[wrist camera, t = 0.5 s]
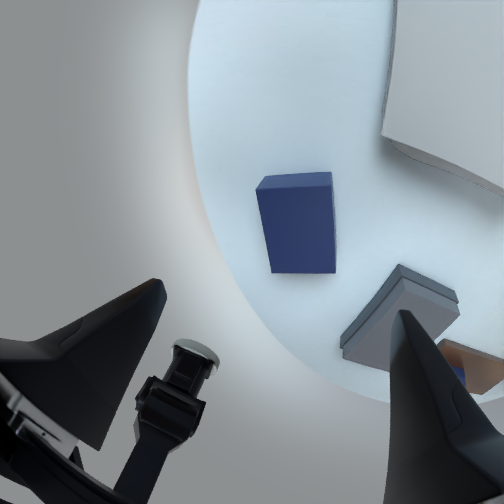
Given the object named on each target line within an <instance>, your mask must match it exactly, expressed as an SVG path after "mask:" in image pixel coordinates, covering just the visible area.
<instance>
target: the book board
mask: <svg viewBox="0 0 504 504" xmlns="http://www.w3.org/2000/svg"><path fill="white" fill-rule="evenodd" d="M437 347H438V348H439V350H440V351H441V352H442V354H443V355H444V357H445V358H446V359H447V361H448V362H449V364H450V365H451V366H454V367H457V368H461V369H464V372H465V377H466V378H465V382H466V387H465V388H466V389H467V391H468V392H469V393H474V394H480V395H483V394H484V393H485V392H487V391H488V390H490V389H491V388H492V387H494V386H495V385H496V384H498V383H499V382H500V381H502V380H503V379H504V360H503V359H500V358H497V357H494V356H492V355H489V354H486V353H483V352H480V351H478V350H475V349H472V348H469V347H466V346H464V345H461V344H458V343H455V342H453V341H450V340H447V339H443V340H442V341H441V342H440V343H439V344H438V345H437Z"/></svg>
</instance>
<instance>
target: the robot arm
mask: <svg viewBox="0 0 504 504" xmlns="http://www.w3.org/2000/svg"><path fill="white" fill-rule="evenodd" d="M166 300H167V294H166V290H165V287H164V284H163V282H162V280H160V279H155V278H152V279H150V280H148V281H146V282H144V283H143V284H141V285H139V286H137V287H135V288H133V289H132V290H130V291H128V292H126V293H124V294H122V295H121V296H119V297H117V298H115V299H113V300H112V301H110V302H108V303H106V304H104V305H103V306H101V307H99V308H97V309H95V310H94V311H92V312H90V313H88V314H87V315H85V316H84V317H81V318H79V319H78V320H76V321H74V322H72V323H71V324H69V325H67V326H65V327H63V328H61V329H59V330H57V331H54V332H52V333H50V334H48V335H46V336H44V337H42V338H40V339H38V340H35V341H31V342H25V341H24V342H23V341H16V340H9V339H3V338H0V475H2V476H4V477H5V478H7V479H10V480H12V481H13V482H16V483H18V484H20V485H22V486H25V487H27V488H29V489H30V490H31V491H33V493H35V494H36V496H38V497H39V499H41V500H42V501H43V502H44V503H45V504H147V502H148V500H149V498H150V495H151V493H152V491H153V488H154V486H155V483H156V481H157V479H158V476H159V474H160V471H161V469H162V467H163V464H164V462H165V460H166V457H167V455H168V454H169V453H171V452H173V451H174V450H176V449H178V448H179V447H180V446H181V445H182V444H183V443H184V442H185V441H186V440H187V439H188V438H189V437H192V436H193V435H194V433H195V431H196V429H197V427H198V425H199V422H200V419H201V416H202V413H203V411H204V408H205V405H206V402H205V401H201V400H199V399H197V395H198V393H199V391H200V389H201V386H202V384H203V382H204V379H208V378H209V376H210V373H211V370H212V368H213V365H214V362H213V361H212V360H210V359H207V358H205V357H203V356H200V355H198V354H196V353H193V352H191V351H189V350H187V349H185V348H182V347H180V346H178V345H175V346H174V347H173V361H172V363H171V365H170V366H169V369H168V370H167V372H166V374H165V376H164V377H163V379H162V380H160V379H159V378H157V377H156V376H153V377H148V378H147V380H146V382H145V384H144V385H143V387H142V388H141V390H140V391H139V393H138V394H137V396H136V397H135V400H136V408H135V410H137V411H138V415H137V417H136V420H135V422H134V432H135V438H136V445H135V447H134V449H133V451H132V453H131V455H130V457H129V459H128V461H127V463H126V465H125V467H124V469H123V471H122V473H121V475H120V477H119V479H118V481H117V483H116V485H115V487H114V489H113V490H112V489H111V488H109V487H107V486H106V485H104V484H102V483H101V482H99V481H98V480H96V479H95V478H93V477H92V476H90V475H89V474H88V473H86V472H85V471H84V468H83V465H82V461H81V457H80V453H79V449H78V447H77V446H76V444H77V442H78V441H79V439H80V440H81V441H83V442H84V443H86V444H87V445H89V446H91V447H92V448H94V449H95V450H97V451H100V449H101V446H102V444H103V442H104V439H105V437H106V435H107V432H108V430H109V427H110V425H111V423H112V420H113V418H114V416H115V414H116V411H117V409H118V407H119V405H120V402H121V400H122V398H123V396H124V393H125V391H126V389H127V387H128V385H129V382H130V380H131V378H132V376H133V374H134V372H135V370H136V368H137V366H138V364H139V362H140V360H141V358H142V355H143V353H144V351H145V349H146V347H147V345H148V343H149V341H150V339H151V337H152V335H153V333H154V331H155V329H156V326H157V323H158V321H159V318H160V316H161V313H162V311H163V308H164V305H165V303H166ZM390 406H391V407H390V408H391V410H390V412H391V414H390V416H391V417H390V445H389V459H388V472H387V479H386V487H385V494H384V501H383V504H504V435H502V434H501V433H500V432H498V431H497V430H496V429H495V427H494V426H493V425H492V423H491V422H490V421H489V419H488V418H487V417H486V415H485V414H484V413H483V411H482V410H481V409H480V407H479V406H478V405H477V403H476V402H475V400H474V399H473V398H472V396H471V395H470V394H469V392H468V391H467V389H466V388H465V386H464V385H463V383H462V382H461V380H460V379H459V378H458V376H457V374H456V373H455V371H454V370H453V368H452V367H451V365H450V364H449V362H448V361H447V359H446V358H445V357H444V355H443V354H442V352H441V351H440V350H439V348H438V347H437V345H436V344H435V343H434V341H433V340H432V339H431V337H430V336H429V334H428V333H427V332H426V330H425V329H424V328H423V327H422V325H421V324H420V323H419V321H418V320H417V319H416V317H415V316H414V315H413V314H412V312H411V311H410V310H408V309H399V310H398V311H397V313H396V316H395V318H394V321H393V323H392V326H391V345H390ZM0 504H12V503H10V502H7V501H5V500H2V499H0Z"/></svg>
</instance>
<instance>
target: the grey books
mask: <svg viewBox="0 0 504 504" xmlns="http://www.w3.org/2000/svg"><path fill="white" fill-rule="evenodd" d="M458 303H459V302H458V299H457V296H456V294H455V291H453V290H451V289H449V288H447V287H445V286H443V285H441V284H439V283H437V282H435V281H433V280H431V279H429V278H427V277H425V276H423V275H421V274H419V273H417V272H414V271H412V270H410V269H408V268H406V267H404V266H402V265H400V264H398V266H397V267H396V268H395V270H394V271H393V272H392V274H391V275H390V277H389V278H388V279H387V281H386V282H385V283H384V285H383V286H382V287H381V289H380V290H379V291H378V292H377V294H376V295H375V296H374V298H373V299H372V300H371V301H370V303H369V304H368V305H367V306H366V308H365V309H364V310H363V311H362V312H361V314H360V315H359V316H358V317H357V318H356V320H355V321H354V322H353V323H352V324H351V326H350V327H349V328H348V329H347V330H346V331H345V332H344V334H343V335H342V336H341V340H340V348H342V349H343V359H346V360H349V361H353V362H356V363H359V364H363V365H366V366H370V367H373V368H377V369H380V370H384V371H387V372H390V345H391V326H392V323H393V321H394V318H395V316H396V313H397V311H398V310H399V309H408V310H410V311H411V312H412V314H413V315H414V316H415V317H416V319H417V320H418V321H419V323H420V324H421V325H422V327H423V328H424V329H425V330H426V332H427V333H428V334H429V336H430V337H431V339H432V340H433V341H434V340H435V339H436V338H437V337H438V336H439V335H440V334H441V333H442V332H444V331H445V330H446V329H447V328H448V327H449V326H450V325H451V324H452V323H453V322H454V321H455V320H456V319H457V318H458V316H459V315H460V312H459V309H458V306H457V304H458Z"/></svg>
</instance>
